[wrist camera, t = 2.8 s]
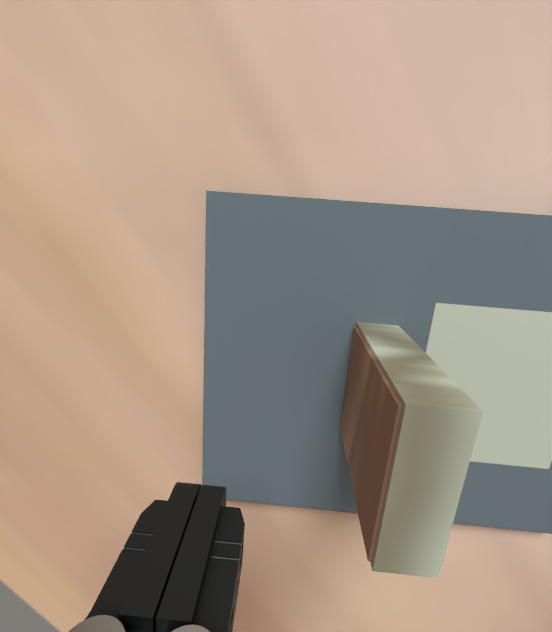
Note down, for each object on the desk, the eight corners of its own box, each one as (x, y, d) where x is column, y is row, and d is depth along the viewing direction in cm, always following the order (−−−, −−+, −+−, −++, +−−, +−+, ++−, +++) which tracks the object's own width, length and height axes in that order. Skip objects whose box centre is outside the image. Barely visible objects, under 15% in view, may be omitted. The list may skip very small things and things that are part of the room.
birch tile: (398, 325, 19) (483, 411, 10) (379, 431, 21) (437, 578, 12) (353, 321, 19) (401, 403, 11) (338, 427, 21) (368, 570, 12)
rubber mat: (656, 224, 18) (677, 224, 17) (546, 521, 23) (557, 534, 22) (211, 192, 19) (206, 190, 18) (206, 485, 24) (202, 497, 23)
